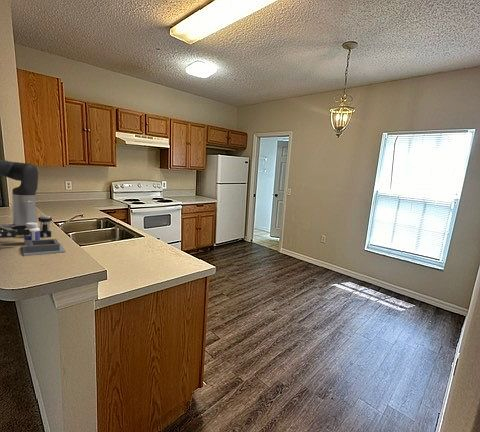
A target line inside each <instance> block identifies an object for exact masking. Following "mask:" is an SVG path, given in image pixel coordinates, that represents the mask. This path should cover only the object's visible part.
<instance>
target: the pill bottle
mask: <svg viewBox="0 0 480 432" xmlns="http://www.w3.org/2000/svg"><path fill="white" fill-rule="evenodd" d="M26 227H27V228H26V229H29V230H30V234H29V235H23V236H24V237H23V239H24V242H23V243H24V245H25V246H26V245H28V241H29V240H41V237H40V227H39V223H38V222H37V223H34V222H31V223H26ZM26 229H25V230H26Z"/></svg>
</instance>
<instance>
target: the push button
mask: <svg viewBox="0 0 480 432" xmlns="http://www.w3.org/2000/svg"><path fill="white" fill-rule="evenodd" d="M37 219H38V222H39V224H40V227H39V229H40V238H51V237H52V231H51V227H50V226H51V222H52V219H53V217H51V215H46V214H45V215H40V216H39V217H37Z"/></svg>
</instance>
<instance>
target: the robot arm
mask: <svg viewBox="0 0 480 432" xmlns="http://www.w3.org/2000/svg"><path fill="white" fill-rule="evenodd" d="M0 176H1V177H2V176H3V177H5V178H9V179H11V180H14V181H19V182H20V185H19V186H17V187H16V186H15V187H13V189H12V224H11V223H10V224H9V223H8V224H0V239H5V238H9V239H10V238H13V239H14V238H16V237H18V236H24V235H29V234H30V230H29V229H26V228H27V227H26V223H31V222H34V223H38V222H37V219H38V217H37V213H38V211H37V208H36V207H37V205H36V203H37V202H36V195H37V194H36V193H37V190H38V183H39V170H38V168H37V166H35V165H34V164H33V163H27V162H19V161H9V160H4V159H1V158H0ZM25 229H26V230H25Z"/></svg>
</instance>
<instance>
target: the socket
mask: <svg viewBox="0 0 480 432" xmlns="http://www.w3.org/2000/svg"><path fill="white" fill-rule="evenodd" d="M21 248H22V249H21V250H22V254H23V257H27V256H39V255H47V254H48V255H50V254H61V253H66V250H65V247H64V246H63V245H62V243H59V241H58V239H57V238H50V239H49V238H48V239H40V240H29V241H28V245H26V244H25V245H22V246H21Z"/></svg>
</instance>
